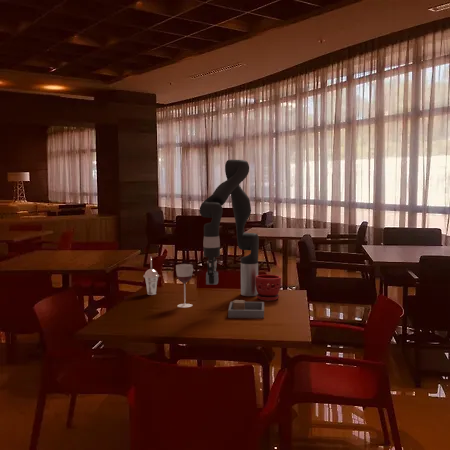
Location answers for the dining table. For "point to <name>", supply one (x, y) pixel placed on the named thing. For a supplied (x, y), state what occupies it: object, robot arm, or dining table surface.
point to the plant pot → (268, 287)
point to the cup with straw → (151, 280)
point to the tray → (247, 310)
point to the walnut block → (239, 305)
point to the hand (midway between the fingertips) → (212, 282)
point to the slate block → (214, 278)
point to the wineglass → (184, 278)
